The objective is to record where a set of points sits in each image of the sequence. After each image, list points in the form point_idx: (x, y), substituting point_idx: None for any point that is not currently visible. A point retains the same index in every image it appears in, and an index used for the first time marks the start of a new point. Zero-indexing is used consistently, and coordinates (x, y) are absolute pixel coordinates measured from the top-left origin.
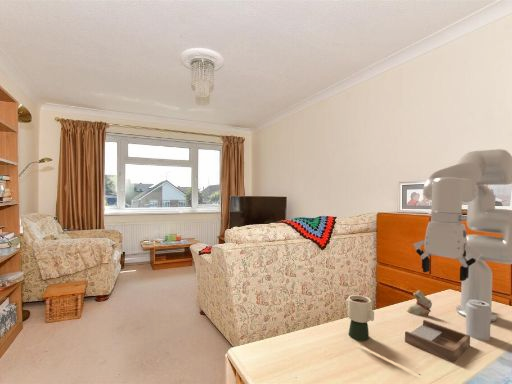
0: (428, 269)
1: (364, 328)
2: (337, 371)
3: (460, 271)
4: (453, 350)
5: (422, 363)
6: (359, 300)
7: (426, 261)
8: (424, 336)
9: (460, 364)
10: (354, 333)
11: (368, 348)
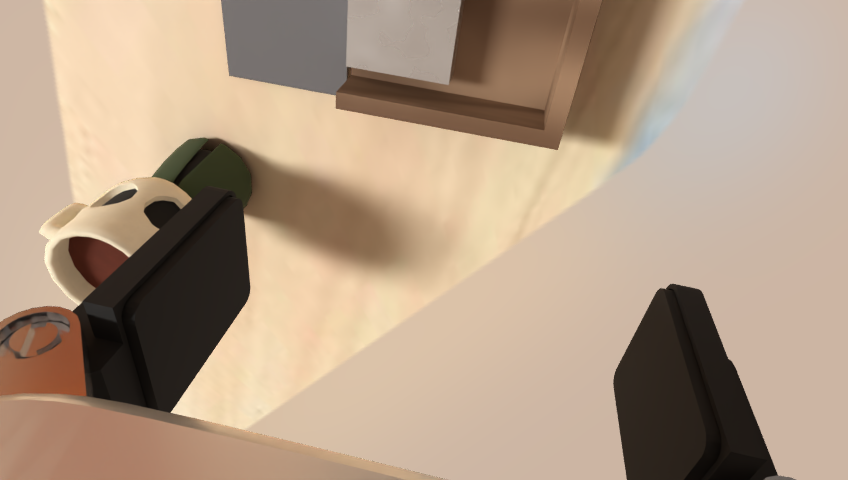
0: (233, 243)
1: None
2: (299, 357)
3: (632, 477)
4: (556, 138)
5: (454, 183)
6: (91, 238)
7: (173, 393)
8: (412, 39)
9: (583, 84)
10: None
11: (280, 211)
